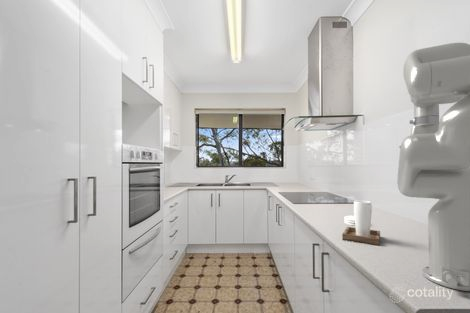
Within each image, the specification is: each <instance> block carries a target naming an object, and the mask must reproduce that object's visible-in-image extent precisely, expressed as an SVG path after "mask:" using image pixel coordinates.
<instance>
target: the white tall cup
mask: <svg viewBox="0 0 470 313" xmlns="http://www.w3.org/2000/svg"><path fill="white" fill-rule="evenodd" d="M372 208H373V207H372V202H371V201H368V200H361V199H359V200H353V216H354V219H355V226H354V228H356V235H358V236H364V237H370V230H371V226H372V212H373V211H372Z"/></svg>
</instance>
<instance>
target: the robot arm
mask: <svg viewBox="0 0 470 313" xmlns="http://www.w3.org/2000/svg"><path fill="white" fill-rule="evenodd" d="M402 72H403V74H402V75H403V79H404V81H405V82H404V83H405V85H406V88H407V93H408V94H409V97H410V102H411V103H413V117H414V118H413V119H412V120H409V124H410V125H411V124H412V125H413V126H412V127H411V132H410V135H409V136H406V137H405V138H404V139H403V140H402V142H401V144H400V146H399V156H398V157H399V158H398V159H399V160H398V169H397V181H396V182H397V188H398V190H399V193H400V194H401V195H403V196H406V197H409V198H418V199H419V198H421V199H435V200H438V201H437V202H436V203H435V204H433V206H432V207H431V208H430V209H429V211H428V215H427V227H428V265H427V266H424V267H422V269H421V271H422V275H423V276H424V277H425V278H426V279H428V280H429V281H430V282H432V283H435V284H438V285H441V286H442V287H446V288H449V289H452V290H453V289H454V290H458V291H464V292H470V44H469V43H466V42H451V43H450V42H449V43H446V44H441V45H435V46H431V47H423V48H419V49H416V50H413V51H412V52H411V53H409V55H408V56H407V57H406V59H405V61H404V64H403V71H402ZM445 104H446V105H447V104H453V105H452V106H450V107H449V108H448V109H447V110H446V111H445V112H444V113H443V114H442V115H441V117H440V105H445Z"/></svg>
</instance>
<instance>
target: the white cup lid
mask: <svg viewBox="0 0 470 313" xmlns="http://www.w3.org/2000/svg"><path fill="white" fill-rule="evenodd" d="M344 224H345V225H348V226H350V227H355V219H354V215H346V216H344Z"/></svg>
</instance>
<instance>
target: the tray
mask: <svg viewBox="0 0 470 313" xmlns="http://www.w3.org/2000/svg"><path fill="white" fill-rule="evenodd" d="M341 237H342V241H346V240H347V241H346V242H352V241H353V243H358V242H359V243H358V244H365V245H372V246H378V247H379V246H380V240H381V231H380V230H375V229H370V237H364V236H358V235H356V228H355V227H354V226H346V228H345V229H344V231H343V232H342V236H341Z"/></svg>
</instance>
